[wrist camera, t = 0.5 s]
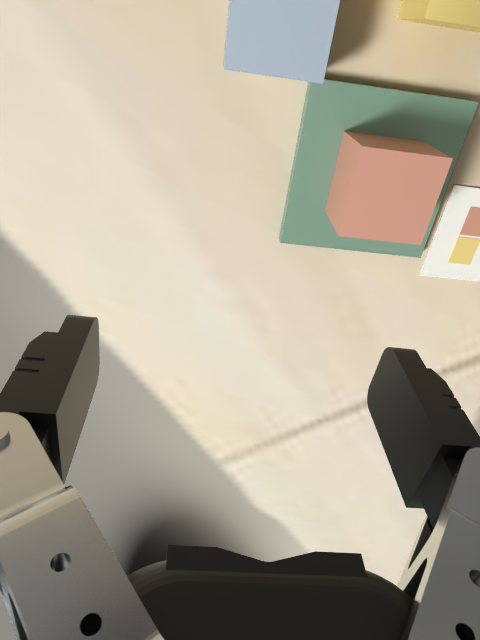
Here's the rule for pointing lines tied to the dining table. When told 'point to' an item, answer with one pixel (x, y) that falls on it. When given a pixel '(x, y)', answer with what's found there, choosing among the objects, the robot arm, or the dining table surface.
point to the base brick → (385, 187)
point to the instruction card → (457, 238)
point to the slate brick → (280, 37)
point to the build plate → (370, 118)
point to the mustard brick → (442, 13)
